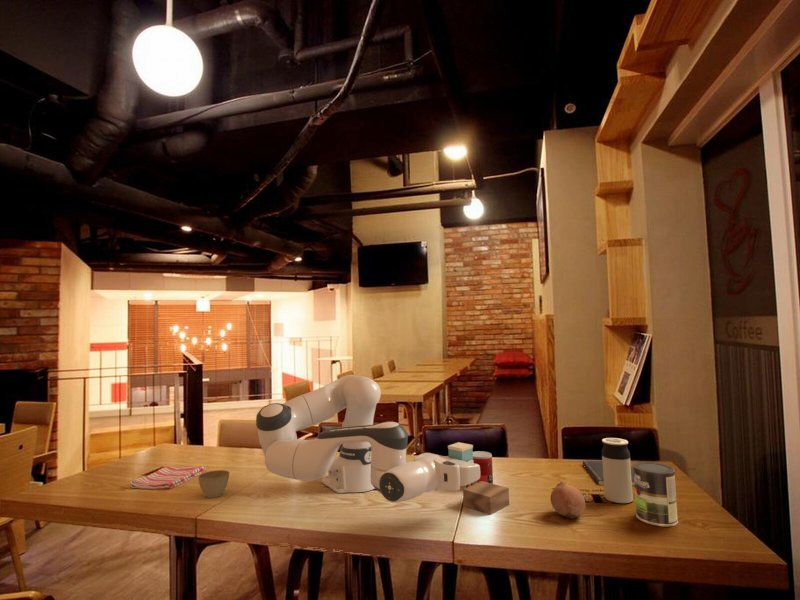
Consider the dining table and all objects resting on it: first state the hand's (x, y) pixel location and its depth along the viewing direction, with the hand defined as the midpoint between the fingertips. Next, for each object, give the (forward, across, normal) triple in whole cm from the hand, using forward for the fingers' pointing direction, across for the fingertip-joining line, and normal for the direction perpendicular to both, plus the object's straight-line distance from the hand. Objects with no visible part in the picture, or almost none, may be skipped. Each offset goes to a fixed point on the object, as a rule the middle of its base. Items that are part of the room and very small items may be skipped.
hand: (462, 460), depth 130 cm
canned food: (+24, -11, -16) cm, 31 cm away
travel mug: (+42, +28, -16) cm, 53 cm away
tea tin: (-1, 0, -6) cm, 6 cm away
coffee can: (+34, +41, -16) cm, 56 cm away
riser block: (+11, 0, -16) cm, 19 cm away
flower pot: (-43, -75, -16) cm, 88 cm away
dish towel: (-47, -107, -17) cm, 118 cm away
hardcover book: (+65, +18, -17) cm, 69 cm away
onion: (+20, +22, -16) cm, 34 cm away
